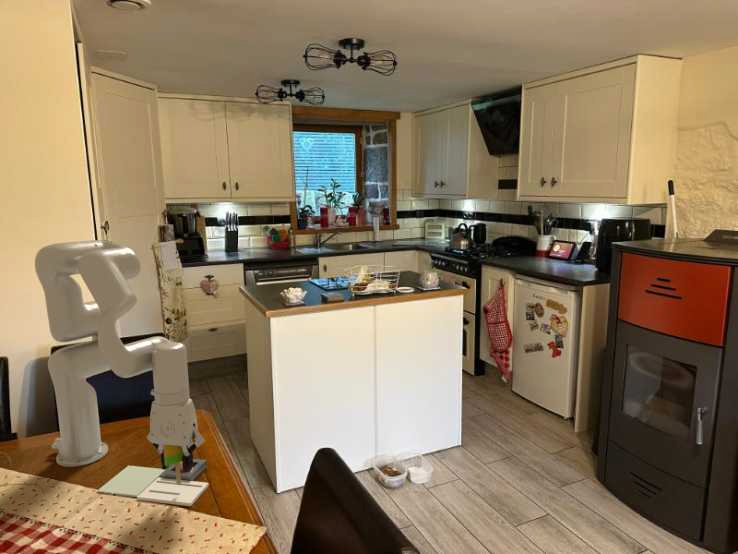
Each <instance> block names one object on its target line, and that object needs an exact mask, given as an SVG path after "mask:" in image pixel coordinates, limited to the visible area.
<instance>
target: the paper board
mask: <svg viewBox="0 0 738 554" xmlns="http://www.w3.org/2000/svg"><path fill="white" fill-rule="evenodd" d="M209 486H210V483H209V482H204V481H195V480H194V481H186V480H181V483H180V484H177V482H176V479H168V478H162V477H159V478H157V479H156V480H155V481H154V482H153V483H152V484H150V485H149V486H148V487H147V488H146V489H145V490H144V491H143V492H142V493H141V494H139V495H138V496H137V497H136V500H137V501H146V502H153V503H161V504H170V505H176V506H177V505H178V506H186V507H192V506H193V505H194V504H195V502H196V501H197V500H198V499H199V497H201V495H202V494H203V493H204V492H205V491H206V490H207V489H208V488H209Z"/></svg>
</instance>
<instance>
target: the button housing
mask: <svg viewBox="0 0 738 554" xmlns="http://www.w3.org/2000/svg"><path fill="white" fill-rule="evenodd" d="M207 467H208V463H207V459H201V458H199V459H198V458H193V468H192V469H191V470H189V471H187V472H180V475H181V480H186V481H195V480H196V479H197V478H198V477H199V476H200V475H201V474H202V473H203V472H204V471H205V470H206V468H207ZM161 478H168V479H176V469H175V464H172V465H170V466H169V467H168V468H167V469H166V470H165V471H164V472H162V475H161Z"/></svg>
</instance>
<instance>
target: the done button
mask: <svg viewBox="0 0 738 554" xmlns="http://www.w3.org/2000/svg"><path fill="white" fill-rule="evenodd" d="M192 468H193V465H192V467H191V468H190V469H189V470H188V471H187V472H189V471H190V470H191V469H192ZM180 472H184V471H183V464H182V462H180Z"/></svg>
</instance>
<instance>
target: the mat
mask: <svg viewBox="0 0 738 554" xmlns="http://www.w3.org/2000/svg"><path fill="white" fill-rule="evenodd" d="M165 470H166V469H165ZM165 470H163V469H162V468H155V467H146V466H137V465H127V466H126V467H125V468H123V469H122V470H121V471H120V472H119V473H117V474H116V475H115V476H113V477H112V478H111V479H110V480H109V481H107V482H106V483H105V484H104V485H102V486H101V487H100V488H98V489H97V490H96V493H97V492H107V493H113V494H117V495H116V496H123V497H130V498H131V497H132V498H137V496H138V495H139V494H141V493H142V492H143V491H144V490H145V489H146V488H147V487H148V486H149V485H150V484H152V483H153V482H154V481H155V480H156V479H157V478H161V477H162V472H164V471H165ZM113 494H112V495H113Z"/></svg>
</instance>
